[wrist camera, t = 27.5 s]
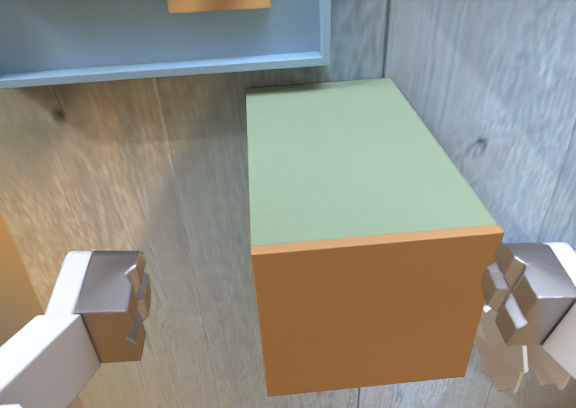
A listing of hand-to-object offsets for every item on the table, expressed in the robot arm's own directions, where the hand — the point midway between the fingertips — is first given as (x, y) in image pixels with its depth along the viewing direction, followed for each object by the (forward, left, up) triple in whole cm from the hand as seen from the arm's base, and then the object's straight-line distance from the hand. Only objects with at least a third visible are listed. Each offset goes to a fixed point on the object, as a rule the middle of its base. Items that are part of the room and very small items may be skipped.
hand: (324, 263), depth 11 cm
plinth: (+17, -6, -39) cm, 43 cm away
